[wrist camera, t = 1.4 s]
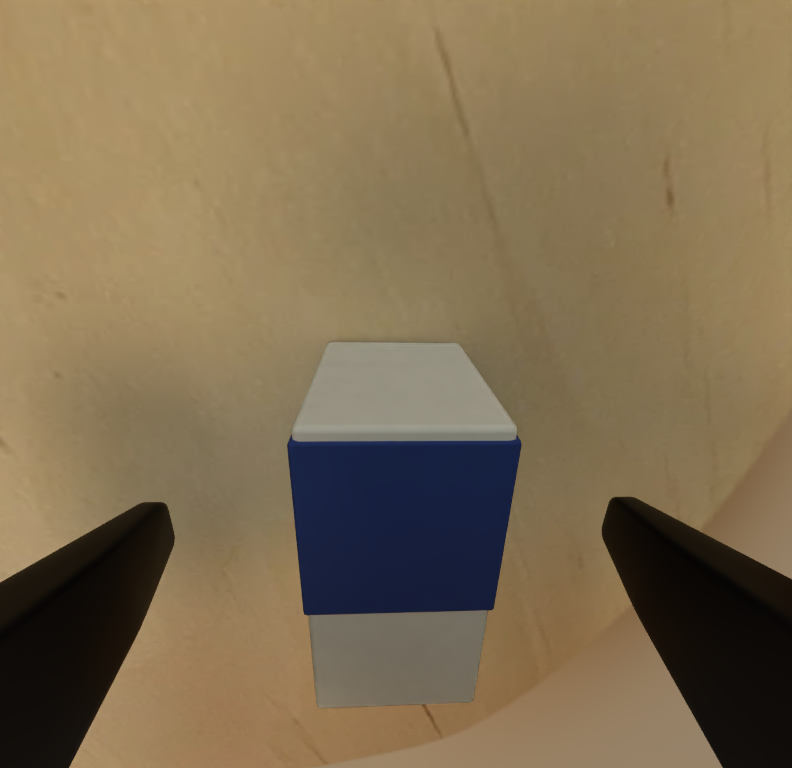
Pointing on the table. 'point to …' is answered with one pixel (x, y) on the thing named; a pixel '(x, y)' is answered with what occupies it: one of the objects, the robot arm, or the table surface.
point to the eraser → (399, 520)
